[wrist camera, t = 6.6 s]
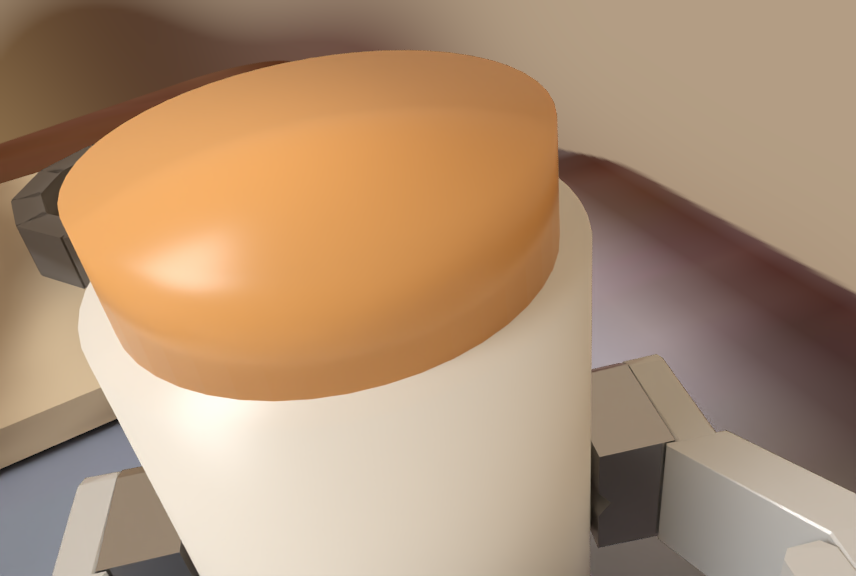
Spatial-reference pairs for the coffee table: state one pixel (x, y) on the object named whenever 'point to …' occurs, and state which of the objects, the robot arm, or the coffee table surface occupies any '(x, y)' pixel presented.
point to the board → (42, 322)
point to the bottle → (347, 317)
